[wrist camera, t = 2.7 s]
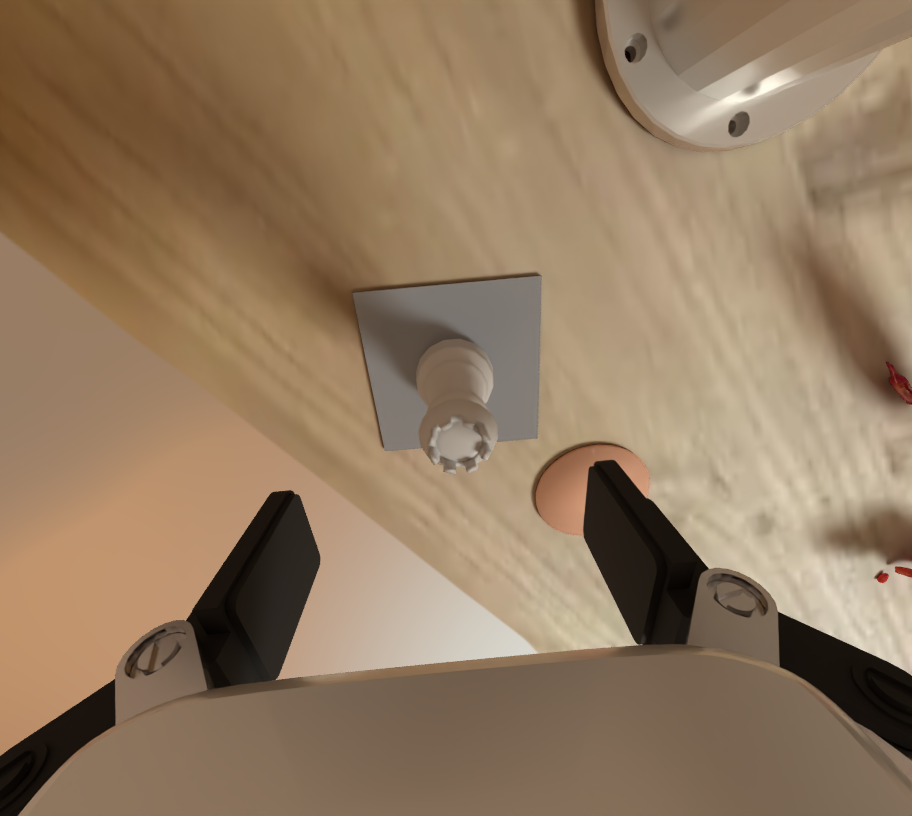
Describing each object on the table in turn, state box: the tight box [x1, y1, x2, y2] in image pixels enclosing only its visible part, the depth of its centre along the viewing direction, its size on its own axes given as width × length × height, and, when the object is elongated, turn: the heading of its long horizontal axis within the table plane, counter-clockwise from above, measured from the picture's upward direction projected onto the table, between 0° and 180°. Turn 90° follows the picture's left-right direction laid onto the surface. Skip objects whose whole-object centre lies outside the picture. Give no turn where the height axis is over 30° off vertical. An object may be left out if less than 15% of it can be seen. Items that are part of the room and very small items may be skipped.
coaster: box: [535, 444, 650, 536], centre depth 25 cm, size 8×8×1 cm
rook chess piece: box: [416, 339, 498, 474], centre depth 17 cm, size 4×4×8 cm
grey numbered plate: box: [352, 275, 542, 451], centre depth 21 cm, size 10×10×1 cm
